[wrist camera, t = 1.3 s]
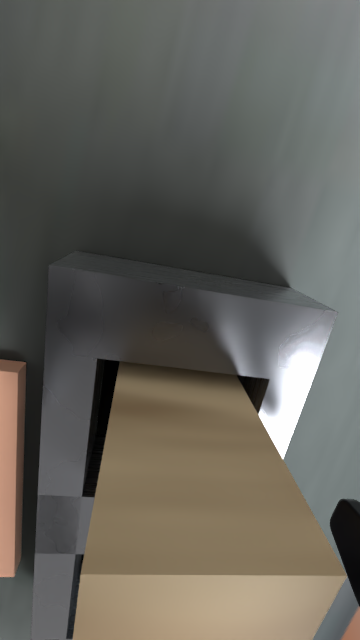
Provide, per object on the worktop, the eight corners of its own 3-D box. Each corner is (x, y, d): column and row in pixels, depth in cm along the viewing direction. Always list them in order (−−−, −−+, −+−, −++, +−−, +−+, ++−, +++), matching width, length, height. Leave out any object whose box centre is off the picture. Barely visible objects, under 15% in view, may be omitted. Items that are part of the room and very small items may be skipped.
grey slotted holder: (196, 590, 17) (205, 665, 14) (50, 590, 16) (29, 672, 13) (291, 287, 11) (338, 312, 9) (76, 250, 10) (48, 264, 7)
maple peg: (202, 431, 13) (273, 710, 6) (112, 423, 13) (62, 725, 5) (223, 351, 12) (346, 575, 5) (124, 338, 11) (80, 574, 4)
